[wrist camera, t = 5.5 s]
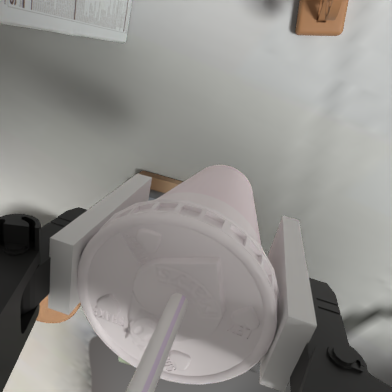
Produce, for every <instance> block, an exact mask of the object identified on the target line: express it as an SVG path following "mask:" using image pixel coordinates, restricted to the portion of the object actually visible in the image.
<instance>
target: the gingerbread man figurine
mask: <svg viewBox="0 0 392 392" xmlns="http://www.w3.org/2000/svg"><path fill="white" fill-rule="evenodd" d="M347 6H348V0H300V1H299V8H298V16H297V23H296V30H295V32H296V34H297V35H316V36H338V35H340V34H341V33H342V31H343V27H344V22H345V16H346V11H347Z"/></svg>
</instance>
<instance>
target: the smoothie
mask: <svg viewBox="0 0 392 392" xmlns="http://www.w3.org/2000/svg"><path fill="white" fill-rule="evenodd" d="M77 289H78V295H79V299H80V303H81V305H82V308H83V311H84V313H85V315H86V318H87V320H88V321H89V323H90V324H91V326H92V328H93V329H94V331H95V332H96V334H97V335H98V336H99V337H100V338H101V340H102V341H103V342H104V343H105V344H106V345H107V346H108V347H109V348H110V349H111V350H112V351H113V352H114V353H116V354H117V355H118V356H119V357H120V358H122V359H123V360H125V361H126V362H128V363H129V364H131V365H132V366H134V367H135V368H136V371H135V373H134V375H133V377H132V379H131V381H130V383H129V385H128V388H127V390H126V392H155V389H156V386H157V384H158V381H159V379H160V378H161V379H164V380H168V381H173V382H177V383H183V384H201V385H202V384H211V383H218V382H222V381H226V380H229V379H232V378H235V377H237V376H239V375H241V374H243V373H245V372H246V371H248V370H250V369H251V368H252V367H253V366H255V365H256V364H257V363H258V362H259V361H260V360H261V359H262V358H263V356H264V355H265V354H266V352H267V351H268V349H269V347H270V346H271V343H272V341H273V339H274V335H275V332H276V326H277V312H278V303H279V289H278V285H277V280H276V276H275V271H274V268H273V267H272V265H271V263H270V261H269V259H268V257H267V256H266V254H265V252H264V250H263V248H262V245H261V239H260V233H259V227H258V221H257V215H256V209H255V202H254V196H253V190H252V187H251V184H250V182H249V181H248V179H247V178H246V176H245V175H244V174H243V173H242V172H240V171H239V170H237V169H235V168H233V167H231V166H227V165H212V166H209V167H206V168H204V169H202V170H201V171H199V172H198V173H196V174H195V175H193V176H192V177H190V178H188V179H187V180H185V181H184V182H182V183H181V184H179V185H177V186H176V187H174V188H173V189H171V190H170V191H168V192H166V193H165V194H163V195H162V196H160V197H159V198H157V199H155V200H150V201H144V202H138V203H135V204H133V205H131V206H129V207H127V208H125V209H123V210H121V211H119V212H117V213H115V214H114V215H113V216H112V217H111V218H110V219H109V220H108V221H107V222H106V223H105V224H104V225H103V226H102V227H101V228H100V230H99V231H98V232H97V233H96V234H95V235H94V236H93V237H92V238H91V240H90V241H89V242H88V244H87V245H86V247H85V249H84V251H83V253H82V255H81V258H80V261H79V265H78V273H77Z"/></svg>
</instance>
